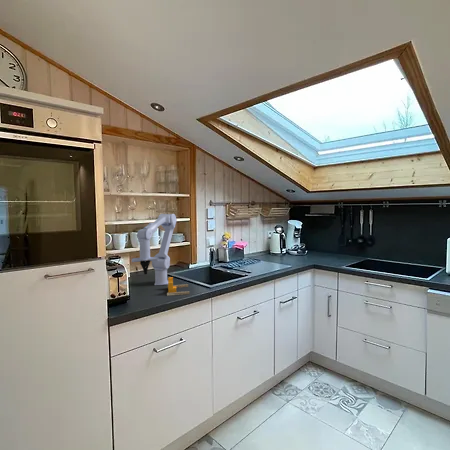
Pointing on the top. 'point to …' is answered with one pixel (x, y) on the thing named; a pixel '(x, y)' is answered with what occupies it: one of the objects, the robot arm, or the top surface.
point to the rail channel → (179, 292)
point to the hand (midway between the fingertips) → (145, 274)
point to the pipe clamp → (171, 285)
